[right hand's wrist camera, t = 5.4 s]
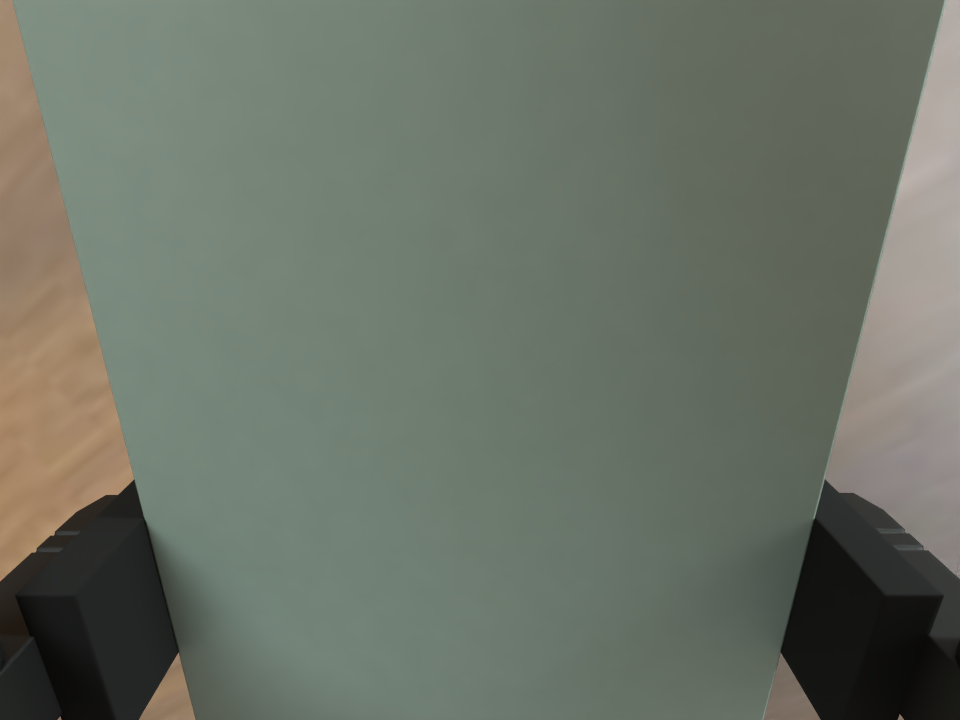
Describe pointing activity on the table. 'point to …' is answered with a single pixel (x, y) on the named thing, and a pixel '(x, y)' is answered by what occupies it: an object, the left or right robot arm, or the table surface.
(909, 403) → the table surface
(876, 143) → the sage green box
